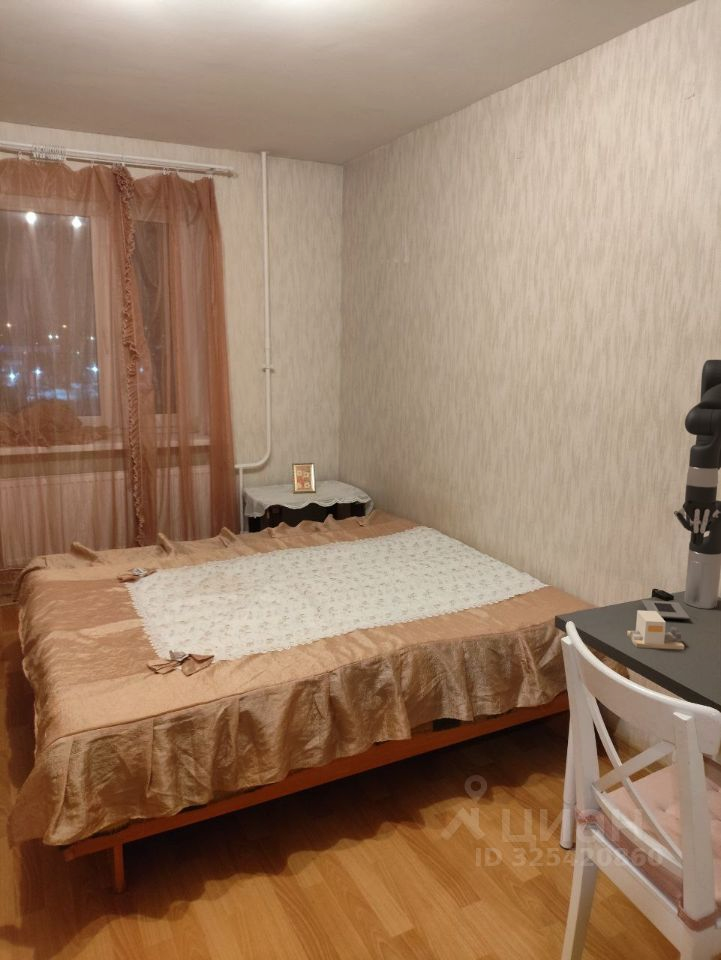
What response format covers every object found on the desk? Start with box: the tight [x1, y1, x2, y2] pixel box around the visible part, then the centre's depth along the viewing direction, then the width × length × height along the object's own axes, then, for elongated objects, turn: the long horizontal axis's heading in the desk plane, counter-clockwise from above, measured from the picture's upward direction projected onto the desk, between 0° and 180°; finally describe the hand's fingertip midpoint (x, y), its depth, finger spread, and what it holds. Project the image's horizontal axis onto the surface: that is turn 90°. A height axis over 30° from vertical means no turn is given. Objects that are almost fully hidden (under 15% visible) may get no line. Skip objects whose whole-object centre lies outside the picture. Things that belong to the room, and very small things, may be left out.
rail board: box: [626, 626, 685, 651], centre depth 182 cm, size 9×12×3 cm
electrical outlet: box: [641, 599, 690, 621], centre depth 203 cm, size 13×10×2 cm
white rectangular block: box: [635, 610, 667, 644], centre depth 182 cm, size 8×5×6 cm, turn 173°
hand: (696, 545), depth 185 cm, fingers closed
